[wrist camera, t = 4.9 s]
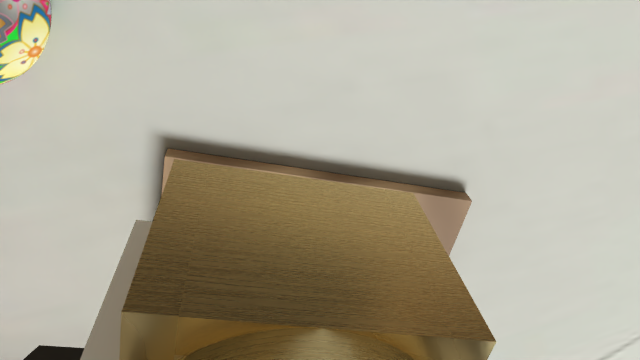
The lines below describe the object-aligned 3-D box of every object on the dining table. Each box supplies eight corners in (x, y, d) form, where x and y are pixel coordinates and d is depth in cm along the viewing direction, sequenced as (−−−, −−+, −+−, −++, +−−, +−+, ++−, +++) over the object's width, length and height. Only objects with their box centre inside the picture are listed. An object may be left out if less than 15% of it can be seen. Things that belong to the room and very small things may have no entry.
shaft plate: (148, 373, 35) (132, 439, 30) (167, 148, 27) (149, 194, 22) (385, 387, 38) (401, 448, 34) (465, 192, 30) (500, 239, 26)
